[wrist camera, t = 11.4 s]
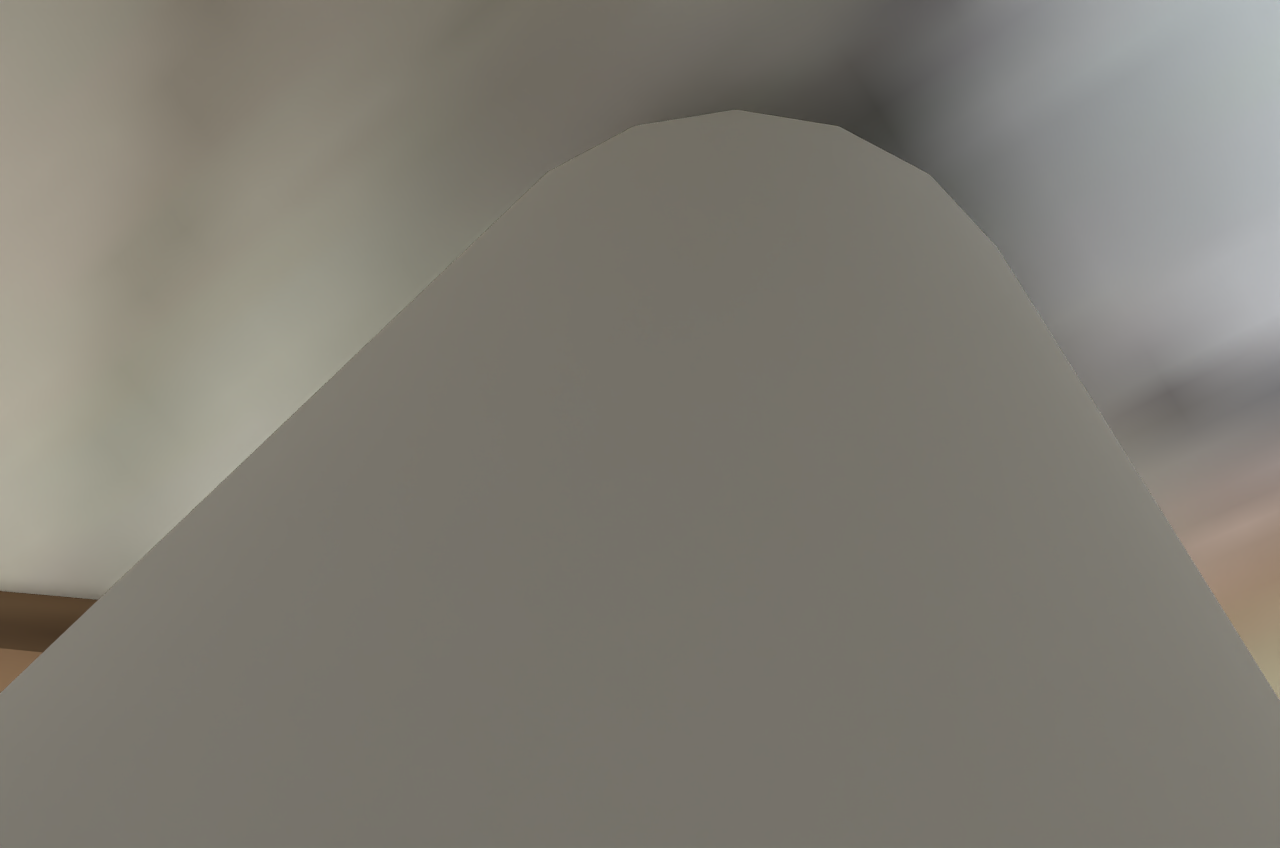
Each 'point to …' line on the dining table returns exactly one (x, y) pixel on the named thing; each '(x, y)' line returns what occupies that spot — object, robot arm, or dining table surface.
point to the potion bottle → (671, 559)
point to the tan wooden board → (32, 628)
